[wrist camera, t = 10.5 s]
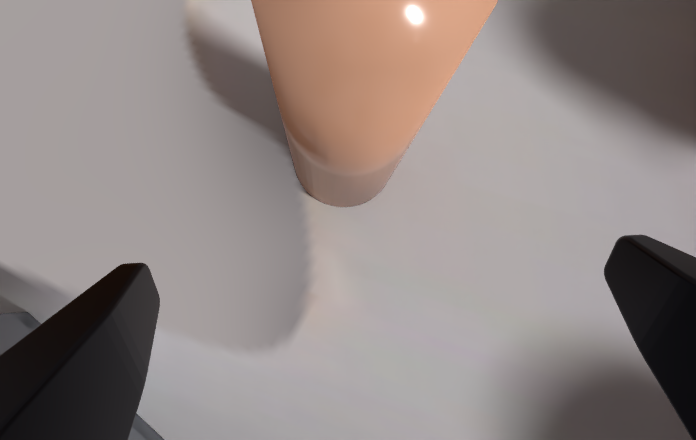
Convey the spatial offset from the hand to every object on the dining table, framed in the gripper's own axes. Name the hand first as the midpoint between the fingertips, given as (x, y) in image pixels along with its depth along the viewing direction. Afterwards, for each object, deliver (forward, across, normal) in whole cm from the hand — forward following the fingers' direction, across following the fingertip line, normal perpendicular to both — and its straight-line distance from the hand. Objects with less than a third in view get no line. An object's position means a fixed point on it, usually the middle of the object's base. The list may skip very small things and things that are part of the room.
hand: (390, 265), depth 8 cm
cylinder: (+13, 0, +4) cm, 14 cm away
